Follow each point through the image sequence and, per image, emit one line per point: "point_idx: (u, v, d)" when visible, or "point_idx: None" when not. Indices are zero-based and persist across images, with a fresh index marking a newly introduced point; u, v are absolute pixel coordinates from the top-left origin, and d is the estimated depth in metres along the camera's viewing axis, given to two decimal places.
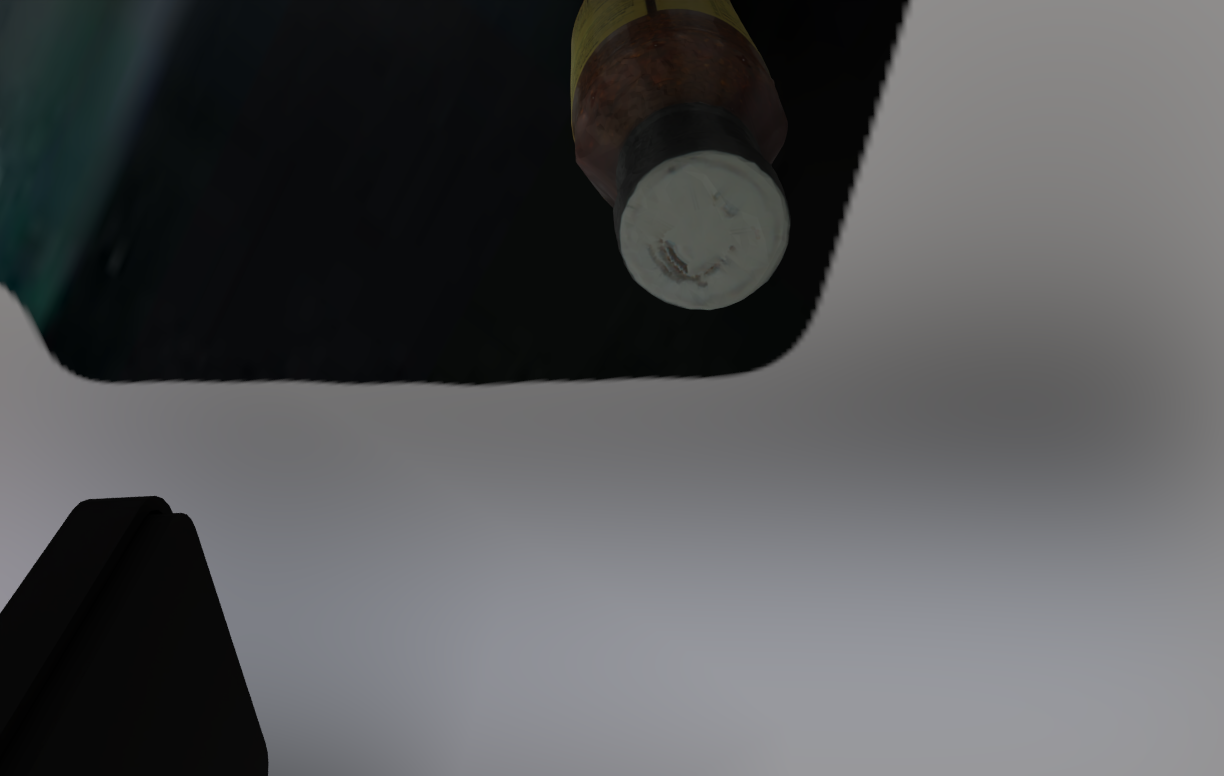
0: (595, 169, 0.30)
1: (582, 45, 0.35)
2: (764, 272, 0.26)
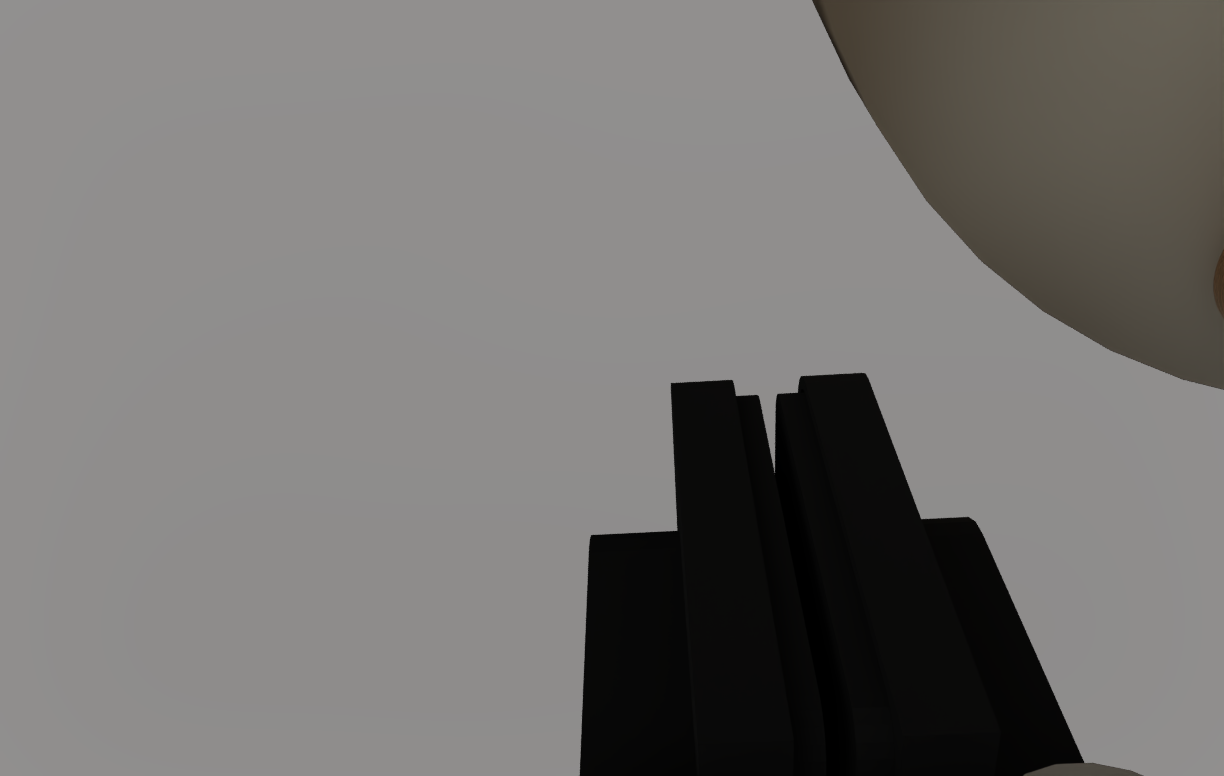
0: None
1: None
2: None
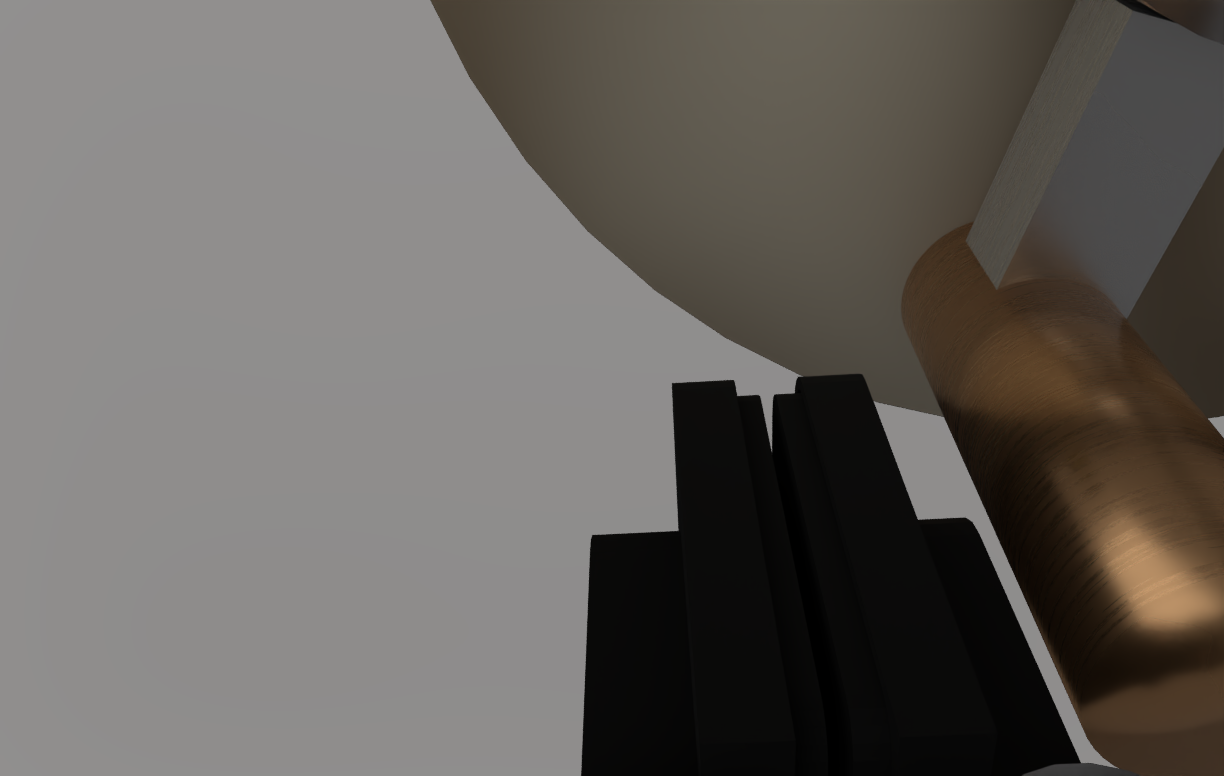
0: None
1: None
2: None
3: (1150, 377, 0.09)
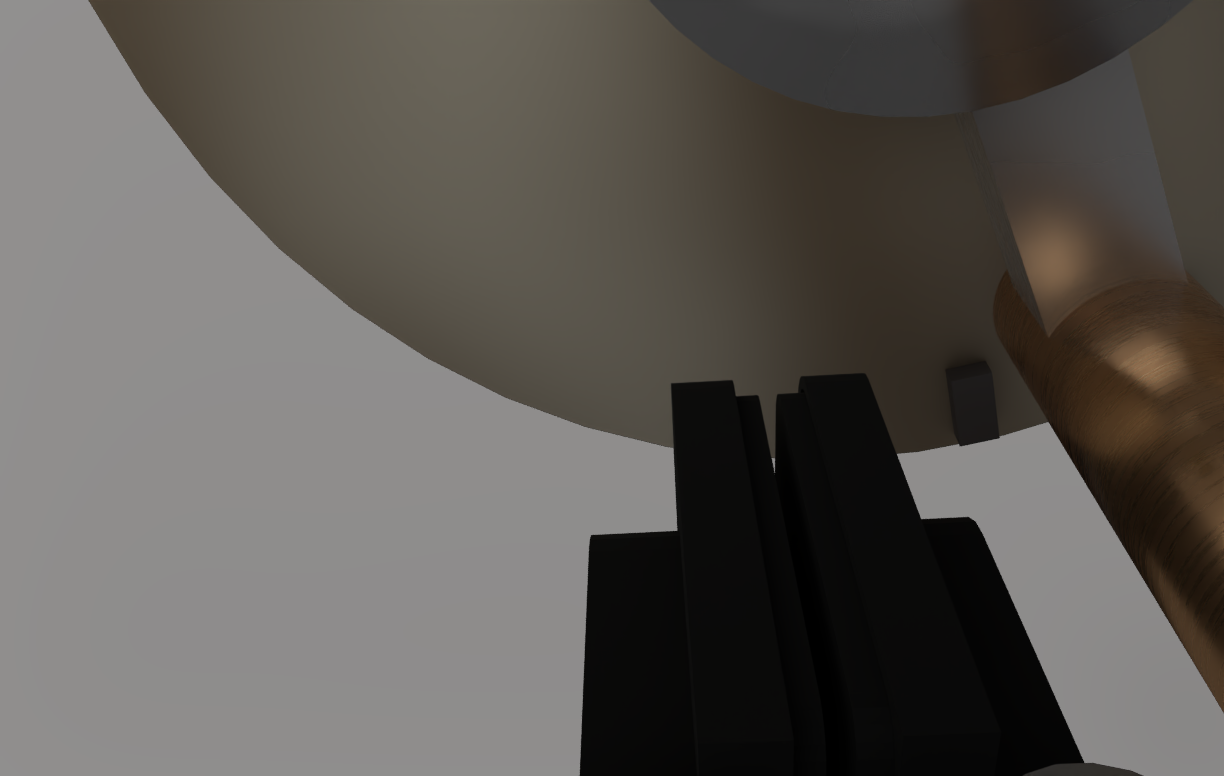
0: None
1: None
2: None
3: (1193, 383, 0.09)
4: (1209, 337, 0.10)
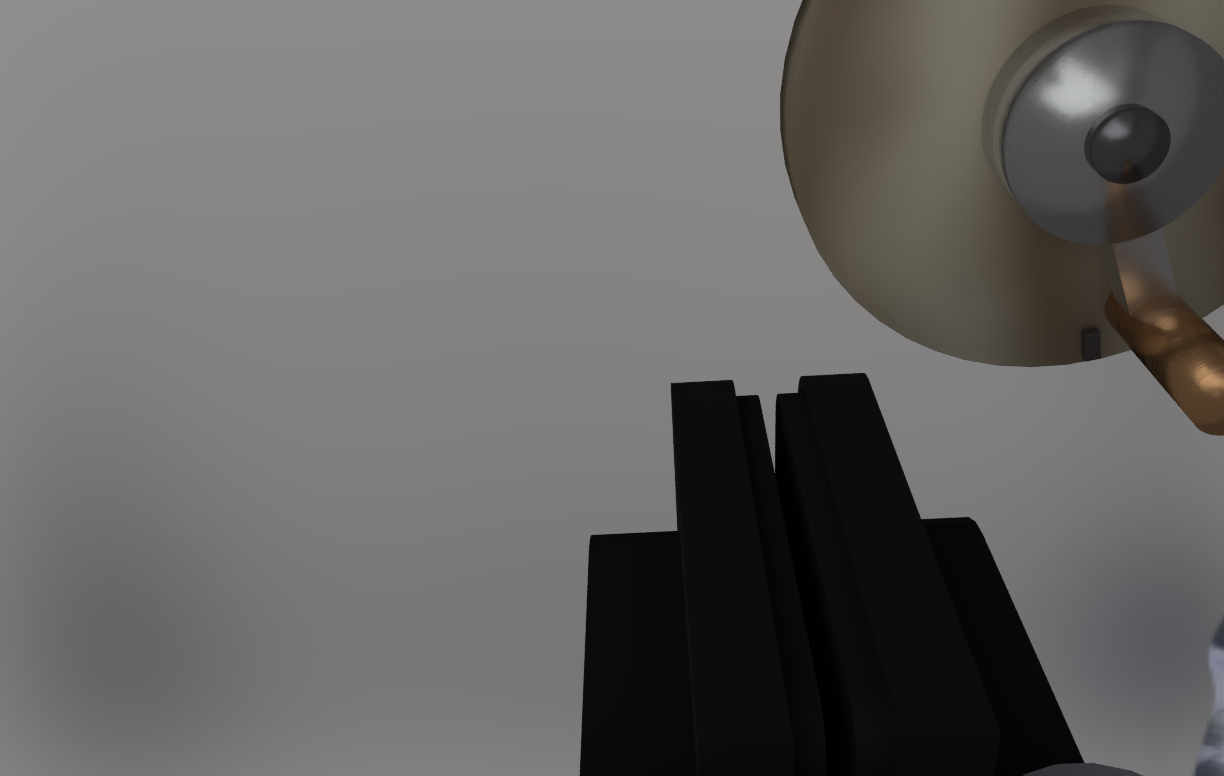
0: None
1: None
2: None
3: (1180, 327, 0.31)
4: (1185, 314, 0.32)
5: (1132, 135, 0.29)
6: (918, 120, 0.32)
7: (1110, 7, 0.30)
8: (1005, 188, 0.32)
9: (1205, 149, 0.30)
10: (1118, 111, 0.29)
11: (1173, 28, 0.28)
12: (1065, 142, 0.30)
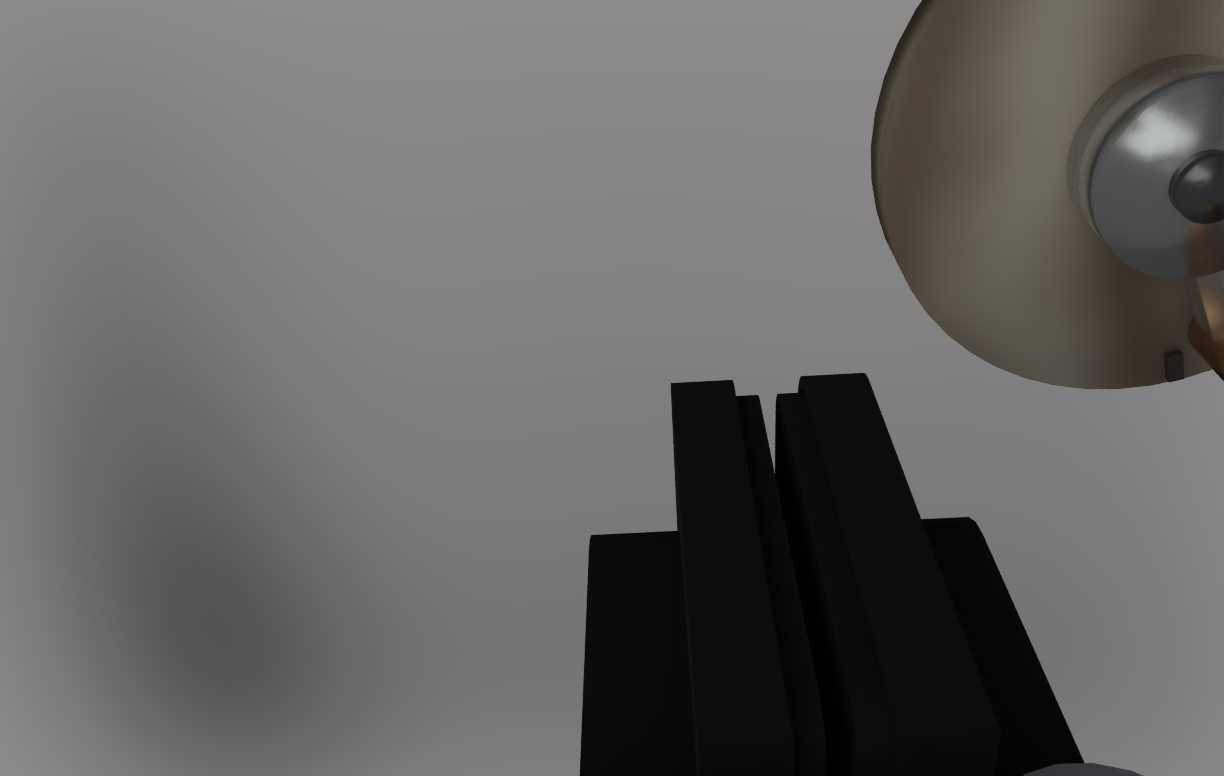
0: None
1: None
2: None
3: None
4: None
5: (1215, 179, 0.31)
6: (1005, 167, 0.34)
7: (1187, 57, 0.32)
8: (1091, 228, 0.34)
9: None
10: (1200, 157, 0.31)
11: None
12: (1150, 186, 0.32)
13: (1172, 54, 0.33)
